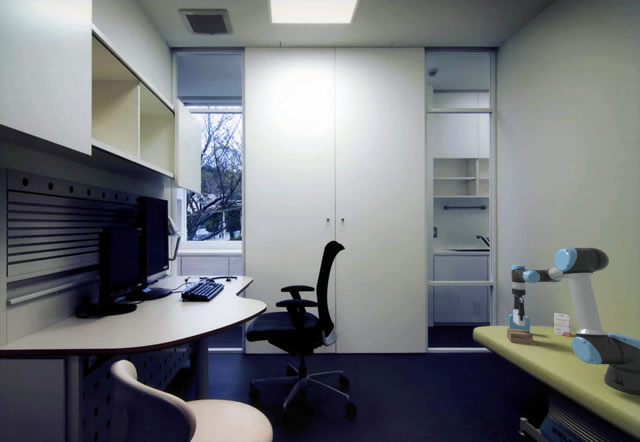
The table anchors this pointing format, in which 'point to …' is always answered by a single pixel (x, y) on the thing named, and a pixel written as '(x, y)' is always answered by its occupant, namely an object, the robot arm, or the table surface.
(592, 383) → the table surface
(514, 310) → the medicine box
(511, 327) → the data package
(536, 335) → the table surface
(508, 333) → the walnut block
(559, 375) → the table surface
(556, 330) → the ink cartridge box
